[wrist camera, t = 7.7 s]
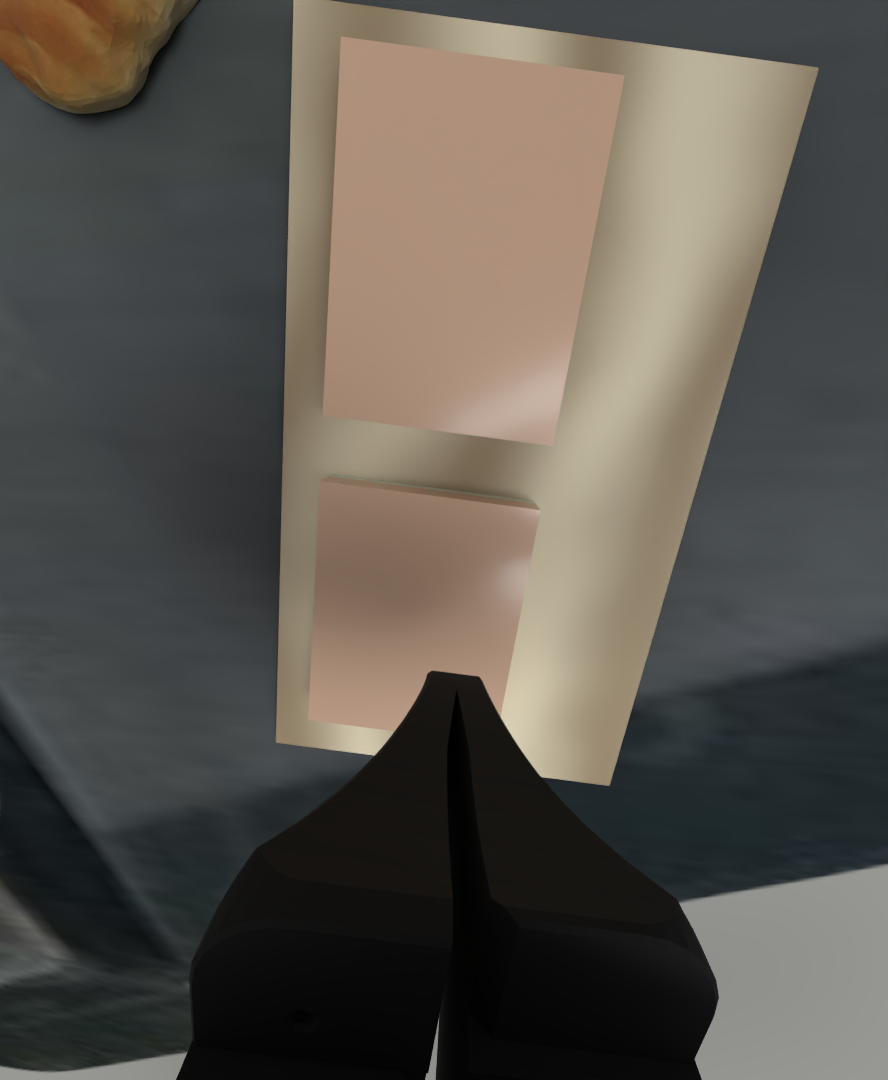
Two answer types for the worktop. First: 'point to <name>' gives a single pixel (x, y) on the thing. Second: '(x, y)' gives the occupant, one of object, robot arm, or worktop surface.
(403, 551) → the tile
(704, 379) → the board
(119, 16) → the pastry
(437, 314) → the tile
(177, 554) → the worktop surface
